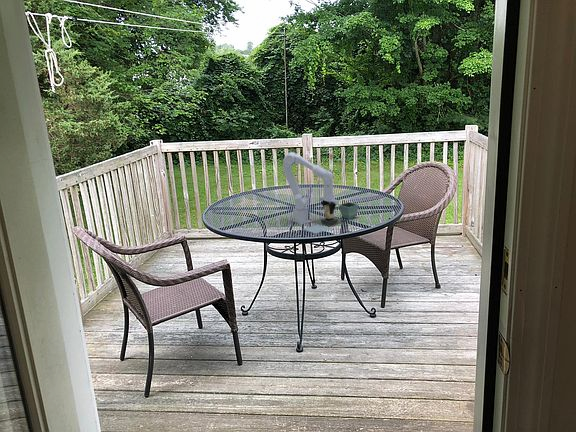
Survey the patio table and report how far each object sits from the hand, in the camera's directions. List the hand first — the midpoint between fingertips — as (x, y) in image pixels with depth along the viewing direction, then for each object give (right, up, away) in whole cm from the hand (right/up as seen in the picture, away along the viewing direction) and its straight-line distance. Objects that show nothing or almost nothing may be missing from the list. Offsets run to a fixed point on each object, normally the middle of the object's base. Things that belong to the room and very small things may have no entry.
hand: (329, 213), depth 283 cm
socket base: (0, -6, +2) cm, 6 cm away
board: (-8, -10, -11) cm, 17 cm away
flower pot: (+13, -3, +8) cm, 16 cm away
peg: (0, -3, +1) cm, 3 cm away
